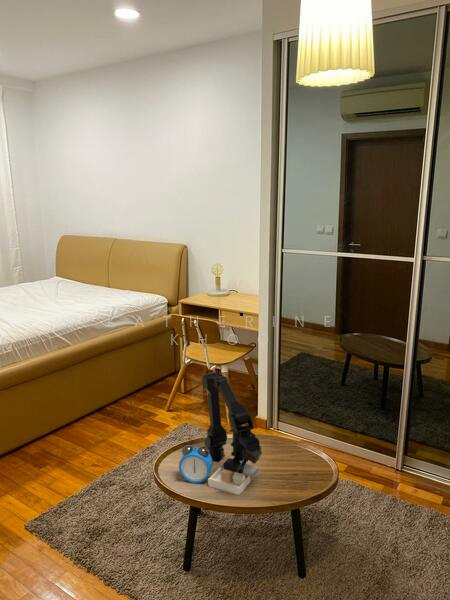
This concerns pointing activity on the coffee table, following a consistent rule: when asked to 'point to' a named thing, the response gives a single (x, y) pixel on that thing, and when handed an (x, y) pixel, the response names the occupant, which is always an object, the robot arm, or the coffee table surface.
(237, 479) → the cream block
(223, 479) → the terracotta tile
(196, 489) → the coffee table surface
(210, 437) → the robot arm
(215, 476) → the tray
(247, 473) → the slate plate
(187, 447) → the alarm clock
